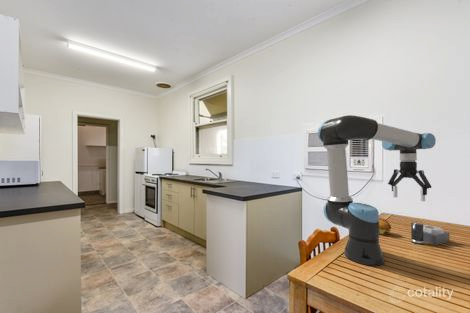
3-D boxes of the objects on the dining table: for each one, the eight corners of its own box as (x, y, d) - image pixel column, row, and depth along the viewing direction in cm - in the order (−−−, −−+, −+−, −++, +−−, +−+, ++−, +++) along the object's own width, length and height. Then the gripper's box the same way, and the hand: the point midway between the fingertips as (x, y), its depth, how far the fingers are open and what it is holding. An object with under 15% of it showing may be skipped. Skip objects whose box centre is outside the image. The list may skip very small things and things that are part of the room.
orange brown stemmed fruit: (383, 229, 138) (386, 215, 136) (394, 239, 128) (396, 224, 125) (366, 229, 139) (369, 214, 137) (375, 238, 129) (378, 223, 126)
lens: (420, 245, 113) (420, 225, 113) (408, 241, 118) (408, 222, 118) (426, 244, 115) (426, 224, 115) (414, 240, 120) (414, 221, 120)
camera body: (435, 245, 114) (435, 231, 114) (416, 239, 122) (415, 226, 122) (449, 241, 119) (449, 228, 119) (429, 236, 127) (429, 224, 127)
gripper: (439, 161, 114) (440, 202, 113) (388, 161, 136) (389, 195, 136) (431, 161, 110) (432, 203, 110) (381, 161, 133) (381, 196, 133)
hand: (408, 199), depth 123 cm, fingers open, 13 cm apart
